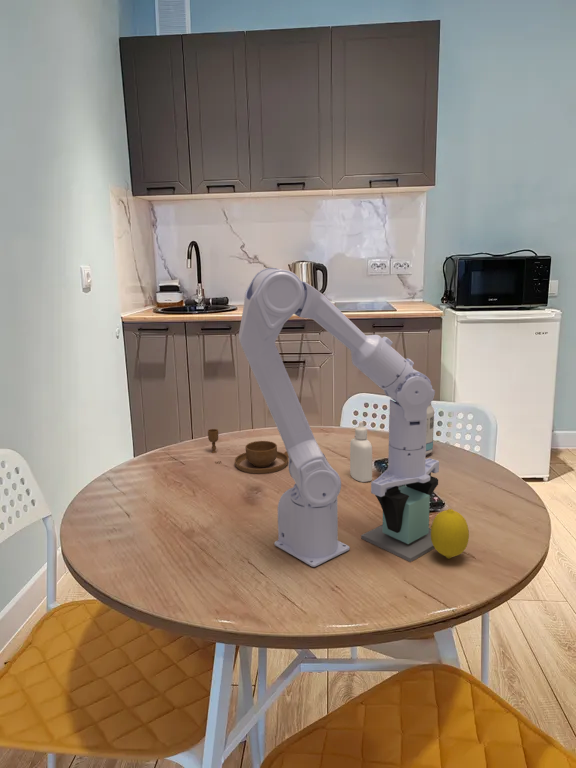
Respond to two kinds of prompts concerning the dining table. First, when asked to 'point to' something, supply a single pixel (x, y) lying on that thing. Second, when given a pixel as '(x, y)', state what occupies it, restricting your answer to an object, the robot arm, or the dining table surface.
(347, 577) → the dining table surface
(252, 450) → the place setting
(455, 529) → the lemon
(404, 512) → the upright teal cuboid
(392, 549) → the base
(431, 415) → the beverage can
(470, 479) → the dining table surface
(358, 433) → the eye dropper bottle
